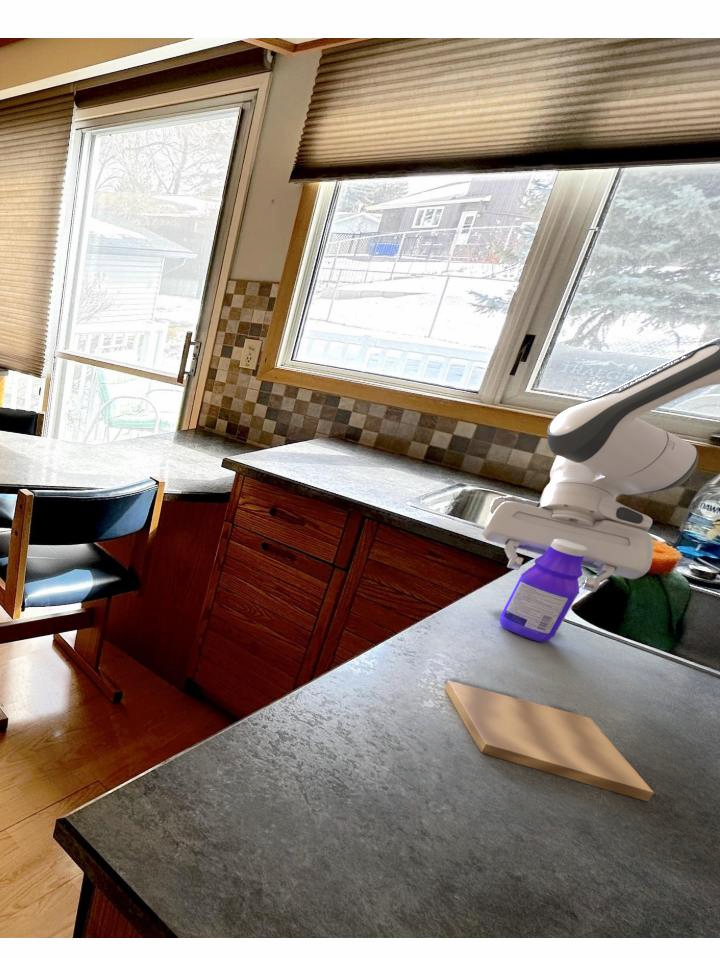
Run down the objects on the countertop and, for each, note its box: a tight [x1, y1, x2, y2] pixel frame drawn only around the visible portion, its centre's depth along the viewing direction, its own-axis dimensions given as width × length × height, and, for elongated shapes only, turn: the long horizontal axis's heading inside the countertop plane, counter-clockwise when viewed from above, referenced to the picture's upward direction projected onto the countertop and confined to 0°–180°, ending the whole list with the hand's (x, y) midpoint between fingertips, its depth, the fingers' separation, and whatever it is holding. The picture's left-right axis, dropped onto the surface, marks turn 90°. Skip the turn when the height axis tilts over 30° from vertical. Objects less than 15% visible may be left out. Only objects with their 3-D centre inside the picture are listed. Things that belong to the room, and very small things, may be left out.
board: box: [444, 680, 655, 803], centre depth 81 cm, size 16×14×2 cm
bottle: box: [499, 539, 587, 643], centre depth 103 cm, size 7×6×17 cm
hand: (550, 578), depth 103 cm, fingers open, 8 cm apart
